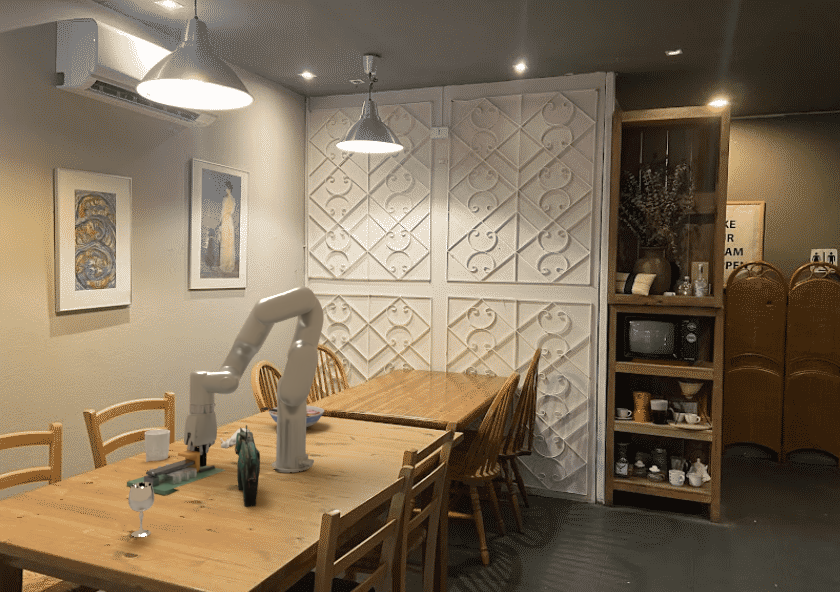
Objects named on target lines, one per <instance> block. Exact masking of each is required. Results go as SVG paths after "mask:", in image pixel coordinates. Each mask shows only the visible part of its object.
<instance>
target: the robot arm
mask: <svg viewBox="0 0 840 592" xmlns="http://www.w3.org/2000/svg"><path fill="white" fill-rule="evenodd" d="M296 317H297V320H296V321H297V322H296V325H295V329H294V333H293V336H292V340H291V343H290V345H289V348H288V351H287V354H286V357H287V358H286V359H287V360H286V364H285V367H284V370H283V374H282V375H281V376H280V378H279V379H278V381H277V385H276V405H277V406H276V407H277V423H276V447H275V448H276V449H275V450H276V454H275V455H276V456H275V461H273V462H272V463H271V468H273V469H272V470H273V471H274V470H275V471H274V472H277V471H278V473H289V474H292V473H298V472H299V471H300V472H303V470H304V471H307V470H308V469H309V468H312V467H313V465H314V463H315V459H314V458H313V459H312V458H309V453H307V452H306V451H307V450H306V449H307V448H306V447H307V444H306V443H307V441H306V440H307V427H306V406H307V399H308V397H309V395H310V391H311V389H312V385H313V383H314V378H315V375H316V371H317V368H318V365H319V364H318V363H319V354H318V346H319V342H320V339H321V334H322V331H323V326H324V311H323V307H322V304H321V302H320V301H319V298H317V296H316V295H315V293H314V291H313V290H312V289H310V288H309V287H307V286H303V285H299V286H295V287H294V288H292V289H290V290H287V291H285V292H282V293H281V292H280V293H278V294H276V295H273V296H269V297H267V296H264V297H261V298H259V299H258V300H257V301H256V302H255V304H254V306H253V308H252V309H251V311H250V313H249V314H248V316H247V318H246V320H245V321H244V323H243V324H242V327H241V329H240V330H239V332H238V334H236V338H235V339H234V342H233V343H232V347H231V349H230V350H229V352H228V355H227V356H226V357H225V359H224V361H223V363H222V365H221V366H220V368H219V370H218V371H216V372H215V371H213V370H212V369H196V370H192V371H191V372H190V374H189V403H188V404H189V407H188V408H189V410H188V414H187V415H186V418H185V423H184V424H185V425H184V432H183V443H184V444H183V445H185V446H187V448H186V451H187V450H189V451H196V452H200V467H204V466H208V465H207V458H208V457H207V456H208V453H209V449H210V448H211V446H213V445H215V444H216V440H217V437H218V424H217V416H216V414H217V413H216V411H215V406H216V403H215V394H220V395H230V394H233V393H235V392H236V391H237V389H239V385H240V381H241V379H242V377H243V375H244V373H245V371H246V369H247V368H248V366H249V364H250V363H251V362H252V359H253V358H254V357H255V356H256V355H257V354H258V353H259V352H260V350H261V349H262V347H263V345H264V343H265V342H266V339H267V338H268V336H269V334H270V333H271V331H272V329H273V327H274V326H275V324H278V323H280V322H285V321H287V320H289V319H293V318H296ZM306 469H307V470H306ZM290 472H292V473H290ZM300 472H299V473H300Z"/></svg>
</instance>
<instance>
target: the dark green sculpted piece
mask: <svg viewBox="0 0 840 592" xmlns="http://www.w3.org/2000/svg"><path fill="white" fill-rule="evenodd" d="M242 428H243V427H241V426H240V427H239V429H240V433H237V437H236V444H234V445H235V447H234V452H235V454H236V455H237V456H238V459H237V465H236V466H237V468H236V470H237V471H236V478H237V480H236V481H237V490H238V491H242V496H243V506H244V507H246V508H251V507H256V506H257V497H258V488H259V487H258V486H259V478H260V472H261V454H260V450H258V448H257V446H256V444H255V439H254V435H253V432H252V431H250V432H247V430H248V425H246V424H245V429H246V432H244V431H243V430H242Z"/></svg>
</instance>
